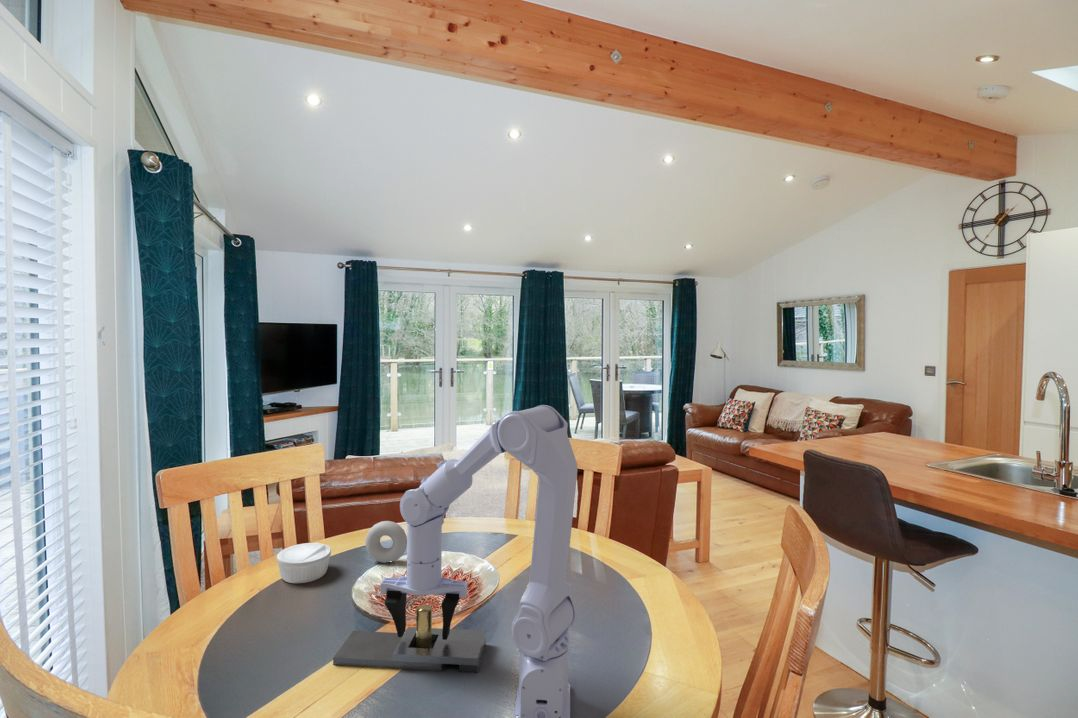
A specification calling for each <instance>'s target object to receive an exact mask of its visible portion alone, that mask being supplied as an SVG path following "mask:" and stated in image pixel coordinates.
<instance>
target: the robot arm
mask: <svg viewBox="0 0 1078 718" xmlns="http://www.w3.org/2000/svg"><path fill="white" fill-rule="evenodd" d="M568 425H569V424H568V422H567V420H565V418H564V417H563V416H562V415H561V414H560V413H559V412H558V411H557V410H556V409H555V408H554V407H553V406H550V405H546V404H541V405H539V404H538V405H536V406H535V407H531V408H526V409H523V410H522V409H521V410H513V411H510V412H507V413H506V414H504V415H503V416H502V417H501V418H500V419H499V420H497V421H495V422H493V423H492V424H491V425H490V427H489V428H488V430H487V431H486V432H485V433H484V434H483V435H482V436H481V437H480V438H479V439H477V441H476V442H475V443H474V444H473V445H472V446H471V447H470V448H469V449H468V450H466V452H465V453H463V455H462V456H461V457H460V458H459V459H455V458H451V459H444V460H441V461H439V462H438V463H437V465H436V467H437V469H436V470H435V471H434V472H433V473H432V474H431V475H430V476H427V477H423V479H421V481H420V485H419V487H417V488H413V489H408V490H405V492H404V494H403V495H402V496H401V498H400V502H399V511H400V514H401V517H402V518H403V520H404V522H406V523H407V524H406V528H407V529H406V536H407V547H406V576H397V577H384V578H383V579H382V581H381V582H380V585H379V587H380V592H379V593H380V595H386V598H385V599H384V606H385V608H387V610H388V612H389V613H390V615H391V617H392V620H393V623H394V625H395V629H396V633H397V635H398V637H402V636H403V634H404V633H405V631H406V629H407V628H406V627H407V621H406V620H407V618H406V617H407V616H406V612H407V611H406V610H407V608H406V607H407V599H408V598H407V596H408V594H409V595H414V596H432V595H435V596H444V598H443V600H442V602H441V611H442V613H441V614H442V629H443V631H442V638H443V640H447V638H448V635H449V631H450V629H451V625H452V620H453V616H454V613H455V610H456V608H457V605H458V604H459V601H460V599H461V598H462V599H466V597H467V594H468V585H469V584H468V583H469V582H468V581H463V580H456V579H453V578H448V577H444V576H442V554H443V553H442V552H443V550H442V547H443V546H442V543H443V542H442V541H443V539H442V537H443V536H442V535H443V533H442V531H443V530H442V529H443V525H444V523H445V516H446V513H448V511H449V510H450V505H452V503H454V502H455V501H457V500H458V498H460V496H462V495H463V494H464V493H465V492H467V491H468V490H469V489H470V488H471V487H472V485H473V479H474V478H473V476H474V474H476V473H478V472H479V471H480V470H481V469H483V468H484V467H485V466H486V465H487V464H488V463H490V462H492V461H493V460H494V459H495V458H496V457H498V456H499V455H500V454H505V453H508V454H509V455H510V456H512V457H513V458H514V459H517V461H519V462H520V463H522V465H524V466H526V467H527V468H528V469H529V470H532V471H533V473H534V474H535V475H536V476H537V477H538V480H539V481H538V489H537V500H536V510H535V522H534V531H533V542H532V543H533V544H532V553H531V561H530V570H529V571H530V573H529V582H528V584H527V586H526V588H525V590H524V592H523V594H522V596H521V598H520V600H519V604H518V605H519V606H518V612H517V614H516V615H515V617H514V618H513V620H512V622H511V628H510V629H511V631H510V632H511V637H512V640H513V642H514V644H515V646H516V647H517V648H518V652H519V681H518V684H517V685H518V686H517V693H516V698H515V699H516V700H515V705H514V706H515V707H514V712H513V718H516V716H519V717H518V718H571V683H569V645H570V643H569V642H570V640H569V628H570V627H571V626H572V625H573V624H574V623H575V621H576V617H577V609H576V608H577V607H576V605H575V602H574V598H573V597H574V596H573V591H574V587H573V585H572V584H571V583H570V582H568V581H567V575H568V574H567V573H568V565H569V556H570V548H571V547H570V546H571V536H572V527H573V517H574V508H575V497H576V487H577V479H578V463H577V459H576V456H575V452H574V451H573V448H572V444H571V442H570V438H569V436H568Z"/></svg>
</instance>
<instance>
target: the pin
mask: <svg viewBox="0 0 1078 718" xmlns="http://www.w3.org/2000/svg"><path fill="white" fill-rule="evenodd" d="M415 614H416V615H415V616H416V618H415V620H416V621H415V622H416V626H415V627H416V647H415V648H425V649H433V648H432V628H433V607H432V605H430V604H422V605H419V606H417V607H416V612H415Z"/></svg>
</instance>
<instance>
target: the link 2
mask: <svg viewBox="0 0 1078 718" xmlns="http://www.w3.org/2000/svg"><path fill="white" fill-rule="evenodd" d="M442 631H443V628H438V627H437V628H436V627H435V628H434V627H432V641H436V642H435V645H434V647H433V648H432V649H425V648H416V647H415V648H411V647H412V645H413V643H414V641H415V640H416V626H415V627H414V626H408V627H407V628H406V630H405V632H404V635H403V637H402V638H401V640H400V642H399V644H398V645H397V647H396V649H395V651H394V652H393V661H403V662H421V663H439V664H443V665H459V666H458V668H459V669H458V672H459V673H470V674H471V673H474V674H475V673H476V674H478V672H479V669H480V664H481V661H482V659H483V654H484V650H485V648H486V635H487V634H486V632H487V631H486V630H477V629H476V630H474V629H473V630H472V629H455V628H450V631H449V635H448V638H447V640H443V638H442Z"/></svg>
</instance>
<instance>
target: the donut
mask: <svg viewBox="0 0 1078 718" xmlns="http://www.w3.org/2000/svg"><path fill="white" fill-rule="evenodd" d="M384 536H387V537H389V538H390V539H391V541H392V545H391V546H390V547H388V548H387V547H384V546H383V545H382V544H381V538H382V537H384ZM365 547H366V549H365V550H366V551H367V552H368V554H369V556H370V557H371V558H372V559H373V560H375V561H377V562H378V563H382V564H387V563H386V562H390V561H394V562H396V561H398V560H399V559H400V558H401V557H403V555H404V554H405V552H406V551H407V533H406V532H405V530H404V529H403V527H402V526H401V525H399V524H398V523H396V522H395V521H391V520H382V521H380V522H377V523H375V524H374V525H372V527H370V529H369V530H368V532H367V534H366V537H365ZM395 560H396V561H395Z"/></svg>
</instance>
